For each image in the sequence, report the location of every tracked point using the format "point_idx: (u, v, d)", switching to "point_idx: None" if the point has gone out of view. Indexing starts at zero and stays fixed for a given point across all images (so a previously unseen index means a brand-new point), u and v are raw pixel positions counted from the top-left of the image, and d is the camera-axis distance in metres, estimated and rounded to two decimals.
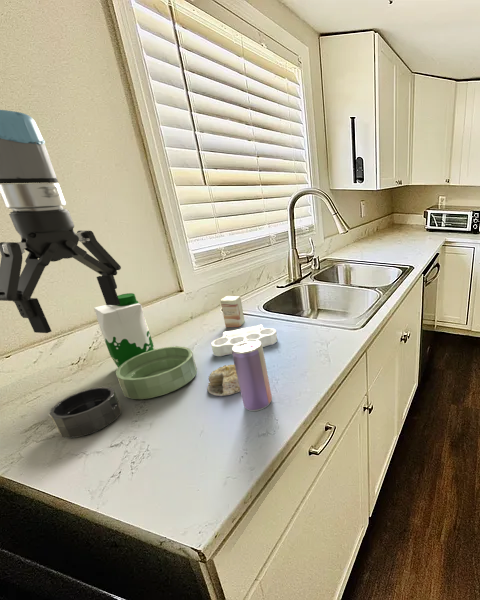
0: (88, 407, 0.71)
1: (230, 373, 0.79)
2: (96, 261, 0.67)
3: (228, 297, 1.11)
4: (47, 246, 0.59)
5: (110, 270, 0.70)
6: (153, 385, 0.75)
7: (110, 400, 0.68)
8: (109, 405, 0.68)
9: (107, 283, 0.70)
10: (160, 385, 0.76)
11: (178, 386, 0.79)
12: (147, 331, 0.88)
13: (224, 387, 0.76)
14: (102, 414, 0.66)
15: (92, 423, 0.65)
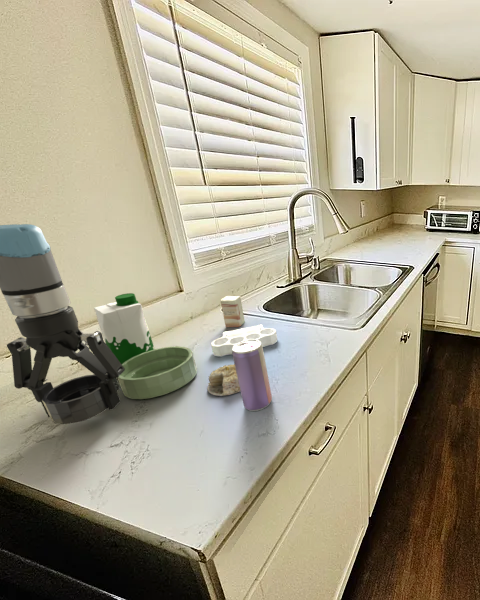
0: (82, 394, 0.70)
1: (230, 373, 0.79)
2: (90, 366, 0.64)
3: (228, 297, 1.11)
4: None
5: (104, 377, 0.65)
6: (153, 385, 0.75)
7: None
8: None
9: None
10: (160, 385, 0.76)
11: (178, 386, 0.79)
12: (147, 331, 0.88)
13: (224, 387, 0.76)
14: (96, 401, 0.65)
15: (85, 410, 0.64)
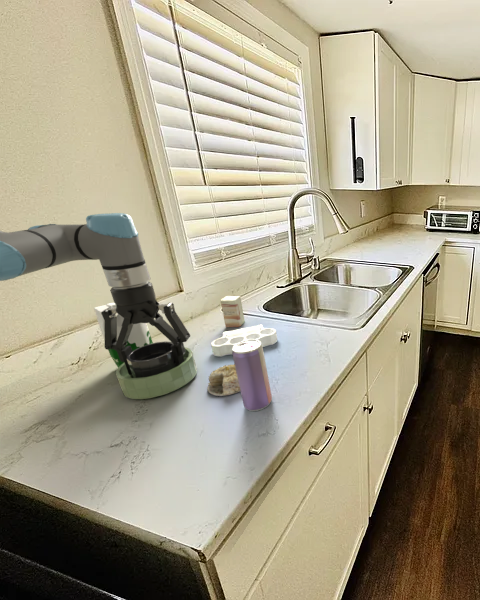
0: (153, 358, 0.83)
1: (230, 373, 0.79)
2: (165, 331, 0.77)
3: (228, 297, 1.11)
4: (125, 313, 0.74)
5: (175, 341, 0.79)
6: (153, 385, 0.75)
7: None
8: None
9: None
10: (160, 385, 0.76)
11: (178, 386, 0.79)
12: (147, 331, 0.88)
13: (224, 387, 0.76)
14: (169, 361, 0.79)
15: (161, 368, 0.77)
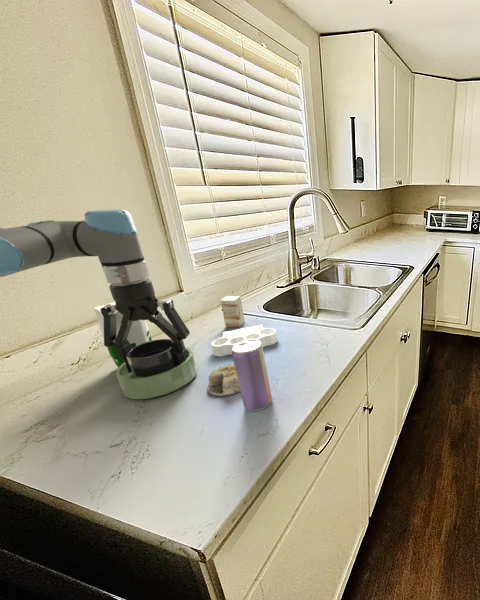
0: (153, 355, 0.83)
1: (230, 373, 0.79)
2: (164, 328, 0.77)
3: (228, 297, 1.11)
4: None
5: (175, 338, 0.78)
6: (153, 385, 0.75)
7: None
8: None
9: None
10: (160, 385, 0.76)
11: (178, 386, 0.79)
12: (147, 331, 0.88)
13: (224, 387, 0.76)
14: (168, 358, 0.78)
15: (161, 365, 0.77)
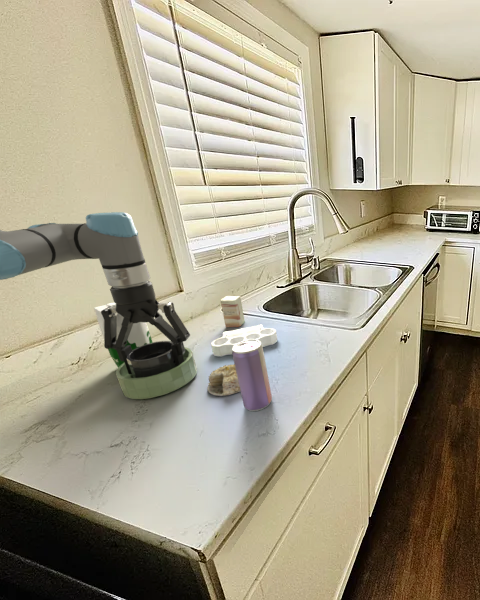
0: (153, 357, 0.83)
1: (230, 373, 0.79)
2: (164, 330, 0.77)
3: (228, 297, 1.11)
4: (125, 312, 0.74)
5: (175, 340, 0.78)
6: (153, 385, 0.75)
7: None
8: None
9: None
10: (160, 385, 0.76)
11: (178, 386, 0.79)
12: (147, 331, 0.88)
13: (224, 387, 0.76)
14: (168, 361, 0.78)
15: (161, 367, 0.77)
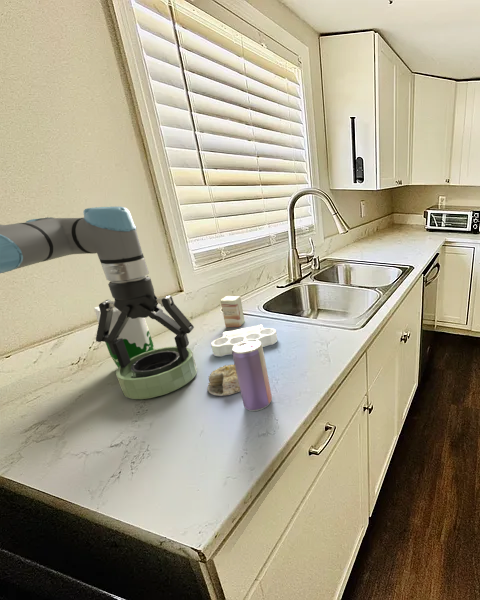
0: (157, 367, 0.84)
1: (230, 373, 0.79)
2: (166, 323, 0.77)
3: (228, 297, 1.11)
4: (123, 308, 0.73)
5: (179, 332, 0.78)
6: (153, 385, 0.75)
7: (177, 360, 0.81)
8: (177, 364, 0.81)
9: None
10: (160, 385, 0.76)
11: (178, 386, 0.79)
12: (147, 331, 0.88)
13: (224, 387, 0.76)
14: None
15: None
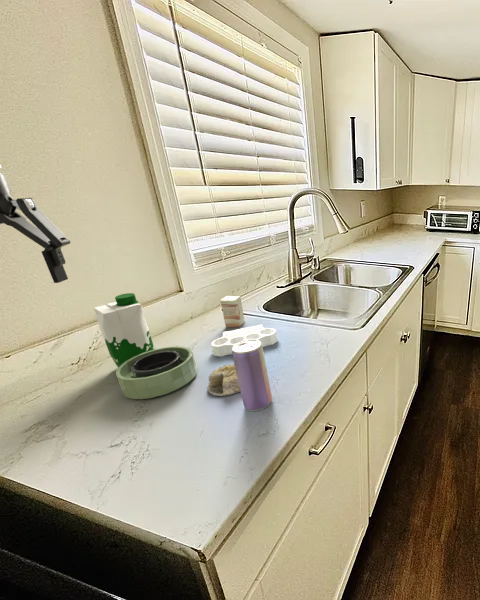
0: (157, 367, 0.84)
1: (230, 373, 0.79)
2: (28, 232, 0.62)
3: (228, 297, 1.11)
4: None
5: (46, 245, 0.64)
6: (153, 385, 0.75)
7: (177, 360, 0.81)
8: (177, 364, 0.81)
9: None
10: (160, 385, 0.76)
11: (178, 386, 0.79)
12: (147, 331, 0.88)
13: (224, 387, 0.76)
14: None
15: None
